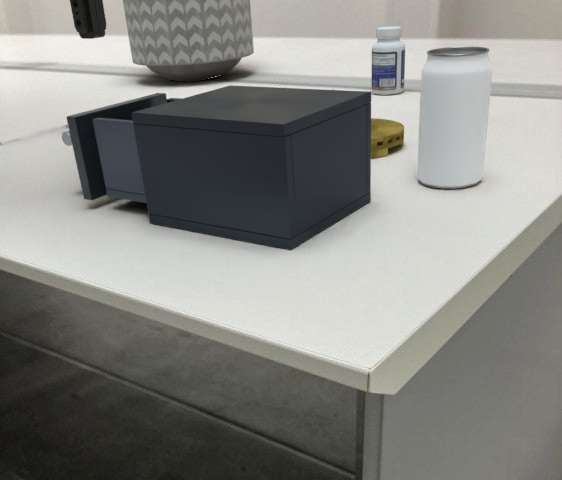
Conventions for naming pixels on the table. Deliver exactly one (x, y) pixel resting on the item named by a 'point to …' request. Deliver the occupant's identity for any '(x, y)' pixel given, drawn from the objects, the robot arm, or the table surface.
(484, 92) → the can
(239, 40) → the planter
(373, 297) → the table surface
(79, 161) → the drawer
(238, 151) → the cabinet
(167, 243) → the table surface
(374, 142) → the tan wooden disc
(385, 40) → the pill bottle
